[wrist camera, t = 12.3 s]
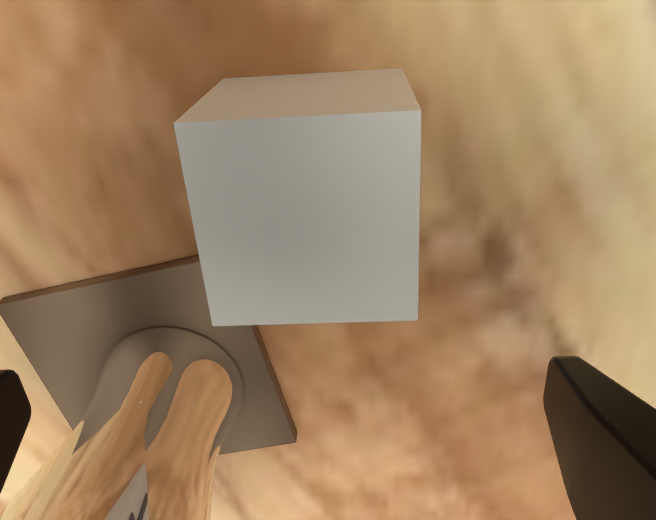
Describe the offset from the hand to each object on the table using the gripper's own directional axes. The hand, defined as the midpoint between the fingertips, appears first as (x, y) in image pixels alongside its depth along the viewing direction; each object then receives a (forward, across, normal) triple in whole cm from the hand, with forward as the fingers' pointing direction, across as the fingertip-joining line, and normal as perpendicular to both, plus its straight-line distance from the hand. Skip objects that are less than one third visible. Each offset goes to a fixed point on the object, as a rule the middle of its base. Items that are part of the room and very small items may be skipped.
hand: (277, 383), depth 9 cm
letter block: (+12, 0, 0) cm, 12 cm away
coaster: (+12, +8, +9) cm, 17 cm away
